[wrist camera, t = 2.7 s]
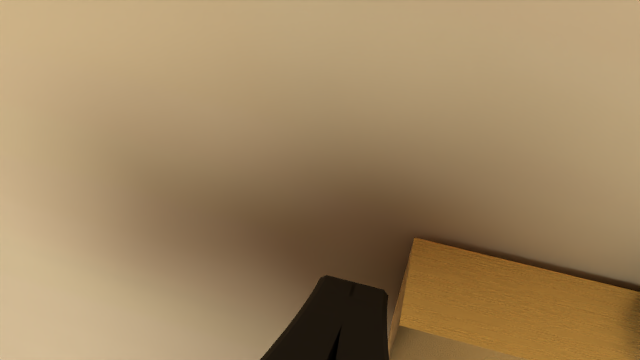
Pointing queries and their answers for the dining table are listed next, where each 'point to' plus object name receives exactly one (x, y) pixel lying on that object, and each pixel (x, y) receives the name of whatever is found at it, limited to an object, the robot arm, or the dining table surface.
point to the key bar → (507, 311)
